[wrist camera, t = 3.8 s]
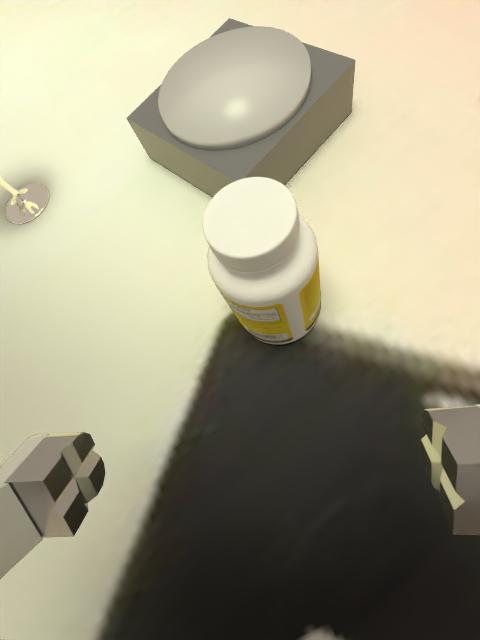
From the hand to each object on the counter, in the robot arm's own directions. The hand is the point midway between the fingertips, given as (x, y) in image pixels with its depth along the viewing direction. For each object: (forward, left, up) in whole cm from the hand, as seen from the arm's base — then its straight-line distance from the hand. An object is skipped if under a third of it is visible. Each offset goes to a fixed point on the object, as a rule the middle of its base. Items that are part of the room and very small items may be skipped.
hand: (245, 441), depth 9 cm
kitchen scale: (-18, +16, -13) cm, 27 cm away
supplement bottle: (-6, +6, -13) cm, 15 cm away
